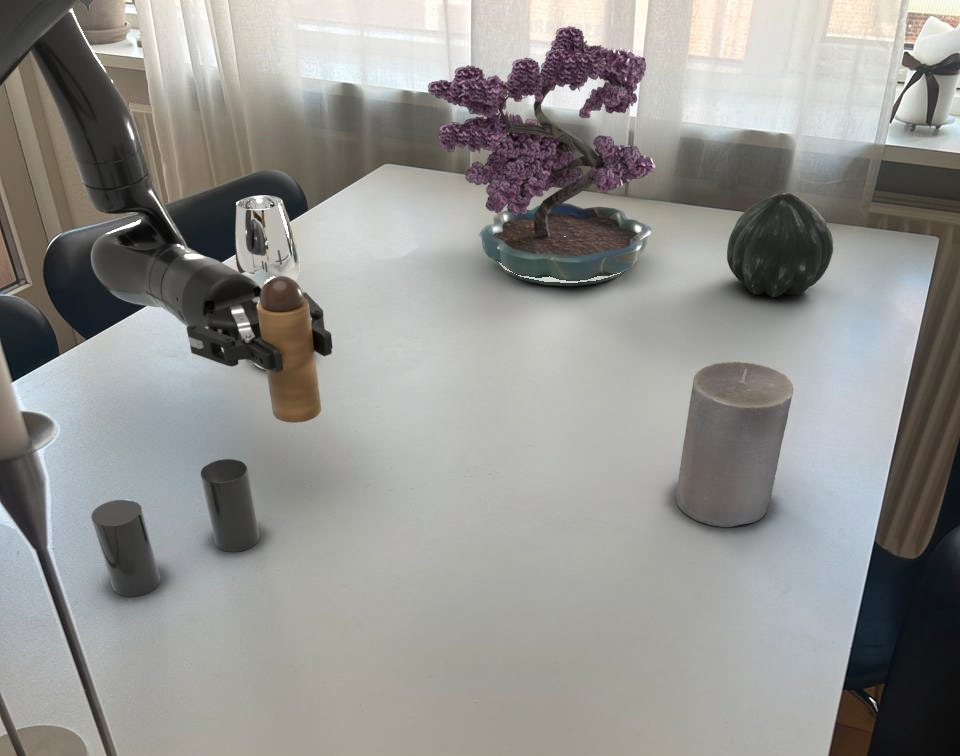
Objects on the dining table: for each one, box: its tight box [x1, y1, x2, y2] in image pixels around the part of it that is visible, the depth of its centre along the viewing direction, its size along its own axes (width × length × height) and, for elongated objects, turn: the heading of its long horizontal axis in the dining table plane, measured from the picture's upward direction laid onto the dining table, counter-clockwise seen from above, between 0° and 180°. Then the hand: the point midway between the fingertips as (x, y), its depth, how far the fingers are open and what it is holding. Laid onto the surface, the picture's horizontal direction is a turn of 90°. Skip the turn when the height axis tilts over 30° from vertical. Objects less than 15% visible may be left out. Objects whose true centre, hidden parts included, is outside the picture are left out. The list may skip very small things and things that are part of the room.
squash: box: [726, 191, 834, 298], centre depth 147 cm, size 14×15×15 cm
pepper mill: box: [257, 276, 322, 424], centre depth 95 cm, size 5×5×14 cm
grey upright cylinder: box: [200, 458, 260, 553], centre depth 98 cm, size 4×4×8 cm
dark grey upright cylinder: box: [90, 499, 161, 598], centre depth 93 cm, size 4×4×8 cm
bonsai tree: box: [427, 25, 657, 287], centre depth 148 cm, size 35×27×33 cm
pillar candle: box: [675, 361, 794, 528], centre depth 101 cm, size 10×10×15 cm
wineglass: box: [234, 195, 301, 371], centre depth 126 cm, size 8×8×20 cm
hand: (303, 353), depth 94 cm, fingers closed on pepper mill, 5 cm apart
